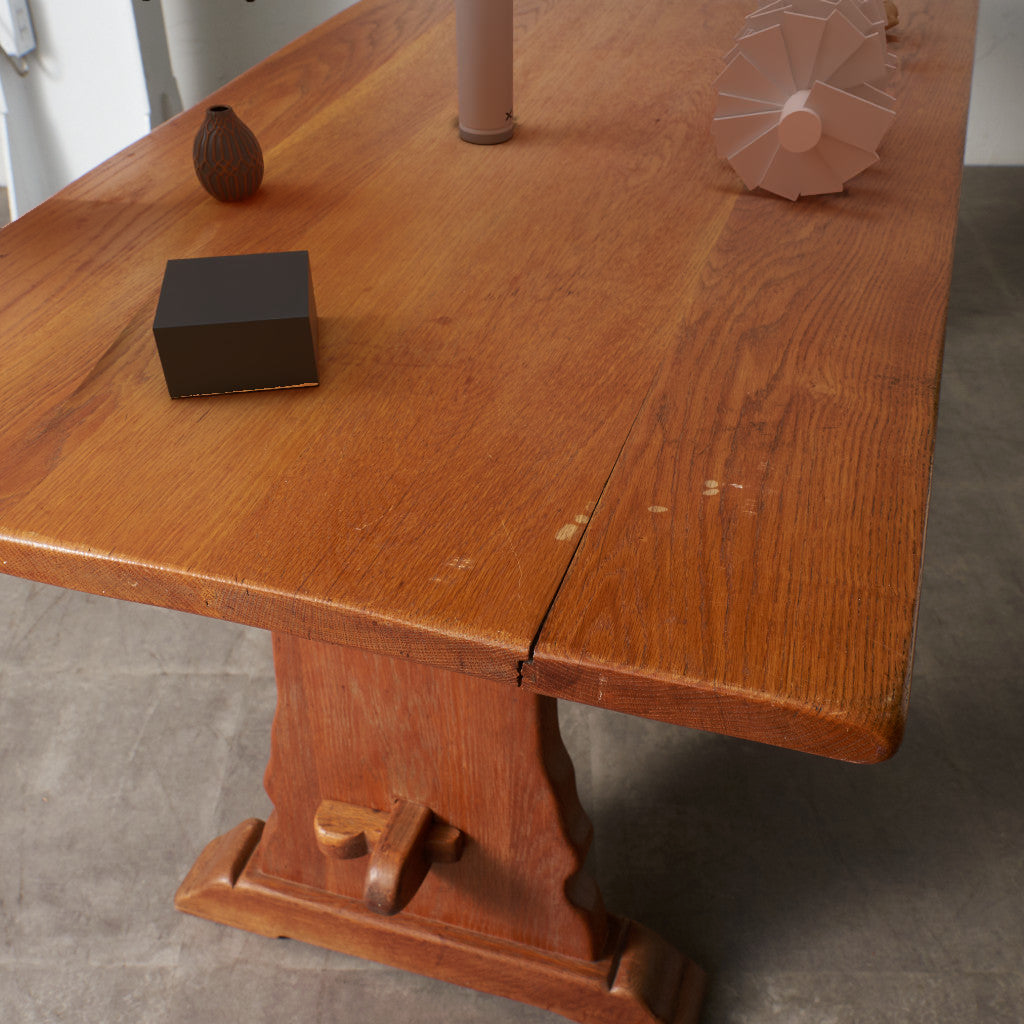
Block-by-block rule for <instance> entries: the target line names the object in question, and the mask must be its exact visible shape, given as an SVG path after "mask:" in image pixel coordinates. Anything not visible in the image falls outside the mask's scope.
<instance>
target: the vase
mask: <svg viewBox="0 0 1024 1024" xmlns="http://www.w3.org/2000/svg"><path fill="white" fill-rule="evenodd" d="M194 136H195V137H194V138H193V144H192V164H193V168H194V172H195V175H196V177H197V179H198V181H199V183H200V185H201V187H202V188H203V189H204V190H205V191H206V192H207V194H209V195H210V196H212V197H213V198H214V199H216V200H217V201H220V202H225V203H237V202H242V201H246V200H249V199H251V198H252V197H254V196H255V194H256V193H257V192H258V191H259V189H260V187H261V185H262V183H263V180H264V175H265V174H264V173H265V161H264V155H263V150H262V148H261V147H262V146H261V145H260V143H259V141H258V138H257V137H256V135H255V133H254V132H253V130H252V129H251V128H249V126H248V125H247V124H246V123H244V121H243V120H241V118H240V117H239V116H238V115H237V113H236V112H235V111H234V109H233V107H231V106H230V105H228V104H214V105H211V106H208V107H207V108H206V111H205V116H204V118H203V121H202V123H201V124H200V127H199V128H198V130H197V132H196V134H195V135H194Z"/></svg>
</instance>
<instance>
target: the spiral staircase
mask: <svg viewBox="0 0 1024 1024" xmlns="http://www.w3.org/2000/svg"><path fill="white" fill-rule="evenodd" d="M883 1H884V0H756V4H757V7H758V8H757V9H756V10H755V11H754V12H753V13H751V14H750V13H749V14H748V15H746V16H744V21H745V24H743V26H742V27H741V28H740V29H739V30H738V32H737V33H736V35H734V37H733V41H735V42H736V44H735V45H734V47H732V48H731V50H729V52H727V53H726V54H725V55H724V56H723V57H722V59H721V61H722V62H723V63H724V64H725V65H726V67H725V68H724V69H723V71H721V73H720V74H719V75H718V76H717V78H716V79H715V80H713V82H712V83H711V87H712V88H713V89H714V90H716V92H717V93H718V95H717V100H716V103H715V106H714V107H715V109H714V112H713V117H712V121H711V125H710V130H709V135H712V136H713V135H714V138H715V149H716V157H717V158H716V159H717V160H724V159H726V161H727V162H728V164H729V165H730V166H731V168H732V169H733V170H734V171H735V173H736V174H737V176H738V177H739V178H740V179H741V181H742V182H743V183H744V185H745V186H746V187H747V189H748V190H749V191H752V190H754V189H756V188H757V187H759V188H760V189H764V190H766V191H768V192H771V193H773V194H775V195H778V196H780V197H783V198H785V199H788V200H790V201H793V202H796V201H797V199H798V198H799V195H800V197H805V196H812V195H814V196H815V195H823V194H833V193H841V192H843V191H844V189H843V187H844V186H843V184H844V183H846V182H847V181H849V180H850V179H852V178H854V177H855V176H857V175H858V174H860V173H861V172H862V171H864V170H866V169H867V168H869V167H871V166H872V165H873V164H875V163H876V162H878V161H880V157H879V155H878V153H877V152H876V150H877V148H878V146H879V144H880V143H881V141H882V139H883V138H884V137H885V134H886V132H887V131H888V129H889V127H890V126H891V124H892V122H893V121H894V119H895V117H896V116H897V112H895V111H893V110H891V109H892V107H894V104H896V101H897V98H896V97H893V96H892V95H890V94H888V93H886V92H887V89H888V88H889V85H890V82H891V80H892V78H893V76H894V73H895V72H896V69H897V66H894V63H895V62H896V60H897V57H898V56H897V55H895V54H893V53H890V52H889V51H888V42H887V34H886V31H885V26H887V25H888V20H887V16H886V12H885V8H884V3H883Z"/></svg>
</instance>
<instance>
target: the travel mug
mask: <svg viewBox="0 0 1024 1024" xmlns="http://www.w3.org/2000/svg"><path fill="white" fill-rule="evenodd" d="M454 10H455V39H456V42H455V43H456V69H457V72H456V73H457V103H458V121H459V123H458V131H459V132H458V133H459V134H458V135H459V137H460V138H461V139H462V140H464V141H466V142H468V143H471V144H475V145H495V144H496V145H497V144H501V143H504V142H506V141H508V140H510V139H511V138H513V137H512V136H513V135H514V122H513V120H514V0H454Z"/></svg>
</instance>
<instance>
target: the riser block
mask: <svg viewBox="0 0 1024 1024" xmlns="http://www.w3.org/2000/svg"><path fill="white" fill-rule="evenodd" d="M152 323H153V324H152V328H151V330H152V334H153V337H154V341H155V346H156V349H157V352H158V358H159V361H160V364H161V368H162V372H163V376H164V380H165V384H166V387H167V392H168V396H169V398H170V397H171V398H174V397H181V396H190V395H192V396H193V395H197V394H199V395H202V394H212V393H225V392H233V391H243V390H255V389H264V388H275V387H279V386H280V387H285V386H292V385H300V384H304V383H318V382H319V383H320V370H318V369H320V368H318V361H319V333H318V332H319V331H318V328H319V327H318V326H319V325H318V312H317V305H316V295H315V290H314V282H313V276H312V267H311V261H310V254H309V250H307V249H305V250H304V249H303V250H291V251H276V252H261V253H260V252H259V253H245V254H233V255H219V256H218V255H216V256H205V257H204V256H203V257H190V258H188V257H187V258H175V259H167V261H166V265H165V270H164V274H163V280H162V283H161V287H160V292H159V296H158V301H157V305H156V310H155V315H154V317H153V322H152ZM317 325H318V326H317ZM171 398H170V399H171Z"/></svg>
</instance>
